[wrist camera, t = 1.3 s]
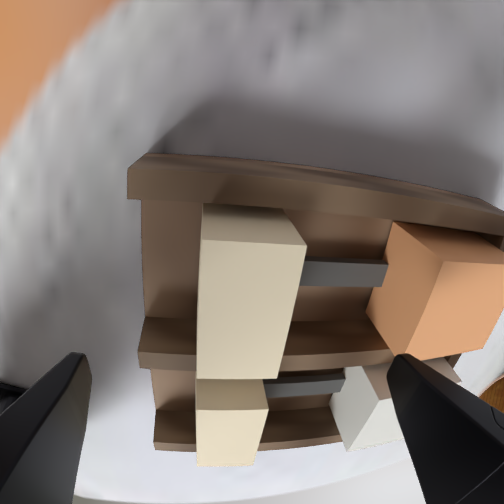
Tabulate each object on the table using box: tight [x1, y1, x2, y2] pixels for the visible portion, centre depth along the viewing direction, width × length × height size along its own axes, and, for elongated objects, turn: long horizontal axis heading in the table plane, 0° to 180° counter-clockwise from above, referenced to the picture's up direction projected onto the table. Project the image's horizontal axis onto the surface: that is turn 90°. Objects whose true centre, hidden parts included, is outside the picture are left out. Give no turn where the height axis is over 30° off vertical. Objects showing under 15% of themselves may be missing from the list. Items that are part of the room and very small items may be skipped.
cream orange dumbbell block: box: [197, 203, 504, 379], centre depth 13 cm, size 14×6×4 cm, turn 83°
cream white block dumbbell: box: [196, 357, 462, 466], centre depth 16 cm, size 14×6×4 cm, turn 83°
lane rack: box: [127, 153, 504, 452], centre depth 16 cm, size 18×16×3 cm
